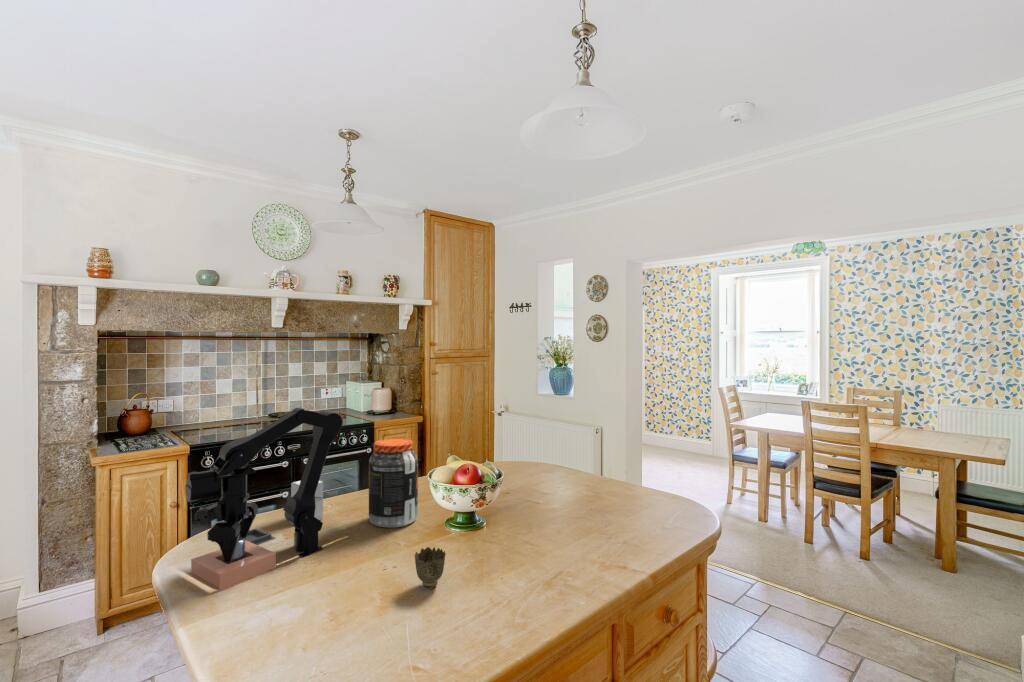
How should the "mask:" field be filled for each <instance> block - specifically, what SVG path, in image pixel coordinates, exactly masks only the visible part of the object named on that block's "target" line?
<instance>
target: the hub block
mask: <svg viewBox="0 0 1024 682" xmlns="http://www.w3.org/2000/svg"><path fill="white" fill-rule="evenodd" d="M276 557H277V553H276V552H274V551H273V550H272V551H271V550H269V549H267V548H265V547H263V546H260V545H256V544H253V543H251V542H249V541H247V540H246V541H245V558H244V559H241V560H238V561H235V562H233V563H230V564H226V563H224V562H223V554H222V551H221V549H220V548H219V549H218V550H214V551H211V552H208V553H206V554H203V555H200V556H196V557H193V558H192V559H190V565H191V566H190V572H191V573H192V574H194V575H196V576H197V577H199V578H201V579H202V580H205V581H206V582H209V583H210V584H212V585H214V586H216V587H214V589H215V590H217V591H219V592H222V591H224V590H226V589H229V588H231V587H233V586H236V585H238V584H241V583H244V582H246V581H248V580H252V579H253V578H256V577H258V576H261V575H263V574H265V573H268V572H270V571H273V570H275V569H276V567H277V566H276V565H277V563H276V562H277V559H276Z"/></svg>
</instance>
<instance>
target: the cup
mask: <svg viewBox="0 0 1024 682" xmlns="http://www.w3.org/2000/svg"><path fill="white" fill-rule="evenodd" d="M446 555H447V553H446V551H445V550H444V551H443V549H442V548H441V549H440V547H437V549H436V547H433V548H431V547H429V546H427V547H425V549H424V548H423V547H422V548H421V549H420V552H418V551H415V554H414V562H415V571H416V575H417V577H418V579H419V580H420V581H421V584H422V586H423V588H425V589H433V588H435V587H437V585H438V580H440V579H441V577H442V576H443V573H444V569H445V561H446Z"/></svg>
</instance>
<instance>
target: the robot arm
mask: <svg viewBox="0 0 1024 682" xmlns="http://www.w3.org/2000/svg"><path fill="white" fill-rule="evenodd" d="M343 421H344V420H343V417H341V415H339V414H338V413H336V412H332V411H330V410H322V411H319V412H316V411H313V410H309V409H305V408H302V407H296V408H293V409H292V410H291V411H289V412H288V413H286V414H284V415H283V416H281V417H279V418H278V419H277V420H274V421H273V422H271V423H270V424H268V425H266V426H264V427H262V428H261V429H260V430H258V431H256V432H255V433H252V434H250V435H247V436H244V437H240V438H237V439H234V440H232V441H230V442H227V443H225V444H224V445H222V446H221V447H220V450H219V454H218V457H217V458H216V459H215V460H214V462H213V463H212V464H211V466H210V467H209V470H204V471H193V472H192V471H191V472H188V474H187V479H186V484H184V485H185V486H184V489H185V498H186V500H187V502H188V503H191V502H196V501H200V500H201V501H202V500H205V499H211V498H215V497H216V496H217V495H219V494H220V492H221V497H220V499H219V500H217V502H216V503H213V504H210V505H208V506H205V507H202V508H199V509H198V510H196V512H195V514H194V516H193V517H194V518H193V519H194V520H193V522H194V523H197V524H198V526H199V527H201V526H204V525H205V524H206V523H209V522H211V521H214V520H216V523H215V524H214V525H213V526H212V527H211V528H210V529H209V530H208V531H207V533H206V535H207V538H206V539H207V541H211V542H212V543H216V544H218V546H219V550H220V549H221V551H222V554H223V557H224V560H225V562H230V561H231V558H232V556H233V553H234V550H235V547H236V545H237V542H238V539H239V537H244V538H245V539H246V536H247V534H248V532H249V530H251V527H252V525H253V523H254V521H255V518H256V516H257V513H258V511H259V510H258V509H259V508H258V507H259V505H258V504H257V503H255V502H248V499H249V498H250V493H249V492H248V475H252V474H255V473H257V470H256V469H255V468H253V467H252V466H251V464H249V463H250V462H251V461H253V459H254V458H255V457H256V456H257V455H258V454H259V453H260V451H261V450H263V449H264V448H265V447H266V446H268V445H271V444H272V443H273V442H276V441H277V440H278V439H280V438H281V437H283V436H284V435H287V434H288V433H290V432H291V431H293V430H295V429H296V428H298V427H299V426H301V425H303V424H305V425H310V426H312V439H313V441H312V444H311V447H310V450H309V454H308V457H307V460H306V464H305V467H304V470H303V473H302V476H301V480H300V481H301V482H300V485H299V489H298V491H297V492H296V494H295V495H294V496H293V497H292V496H291V495H287V498H286V504H285V506H284V508H283V509H282V511H284V518H285V519H286V521H288V523H290V524H291V526H292V527H293V528H294V535H293V536H294V539H293V541H294V545H293V546H294V548H295V549H294V550H295V552H297V553H299V554H298V556H300V557H303V558H304V557H306V556H307V557H308V555H311V554H314V553H316V552H319V551H321V550H323V548H324V546H321V545H319V532H321V530H322V528H323V524H324V522H322V520H318V519H317V518H315V517H314V515H315V508H316V505H315V492H316V489H317V486H318V482H319V481H320V479H321V475H322V472H323V470H324V465H325V463H326V460H327V455H328V454H329V449H330V446H331V445H332V443H333V442H334V441H335V440H336V438H338V435H339V434H340V431H341V429H342V427H343V424H344V423H343ZM223 521H224V522H223Z"/></svg>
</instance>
